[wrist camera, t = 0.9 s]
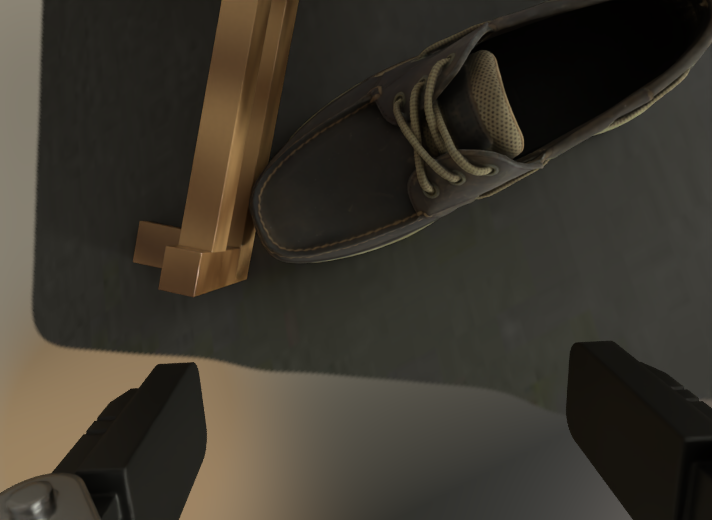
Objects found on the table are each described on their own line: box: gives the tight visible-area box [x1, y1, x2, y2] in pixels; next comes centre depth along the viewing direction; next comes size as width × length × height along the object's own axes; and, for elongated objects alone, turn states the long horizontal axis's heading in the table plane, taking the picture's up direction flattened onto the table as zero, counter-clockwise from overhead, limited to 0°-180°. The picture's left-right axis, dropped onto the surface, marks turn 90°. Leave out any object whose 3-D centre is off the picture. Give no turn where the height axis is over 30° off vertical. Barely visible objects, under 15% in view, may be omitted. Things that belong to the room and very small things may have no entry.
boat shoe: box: [249, 0, 712, 263], centre depth 30 cm, size 11×29×11 cm, turn 119°
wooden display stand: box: [133, 0, 299, 297], centre depth 32 cm, size 27×8×10 cm, turn 169°
